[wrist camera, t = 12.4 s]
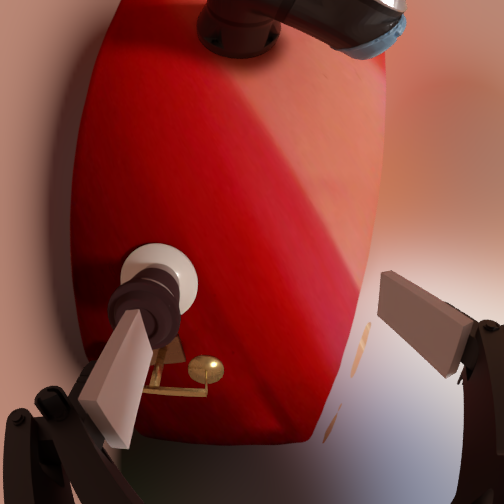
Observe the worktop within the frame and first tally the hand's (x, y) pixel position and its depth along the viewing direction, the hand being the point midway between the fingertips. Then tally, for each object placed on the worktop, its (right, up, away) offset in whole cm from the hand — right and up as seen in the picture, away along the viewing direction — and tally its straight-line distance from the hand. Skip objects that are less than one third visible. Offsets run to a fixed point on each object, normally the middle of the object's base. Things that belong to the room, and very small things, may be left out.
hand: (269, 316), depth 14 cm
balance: (-18, -16, +36) cm, 43 cm away
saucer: (-17, -2, +33) cm, 37 cm away
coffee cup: (-17, -2, +31) cm, 36 cm away
